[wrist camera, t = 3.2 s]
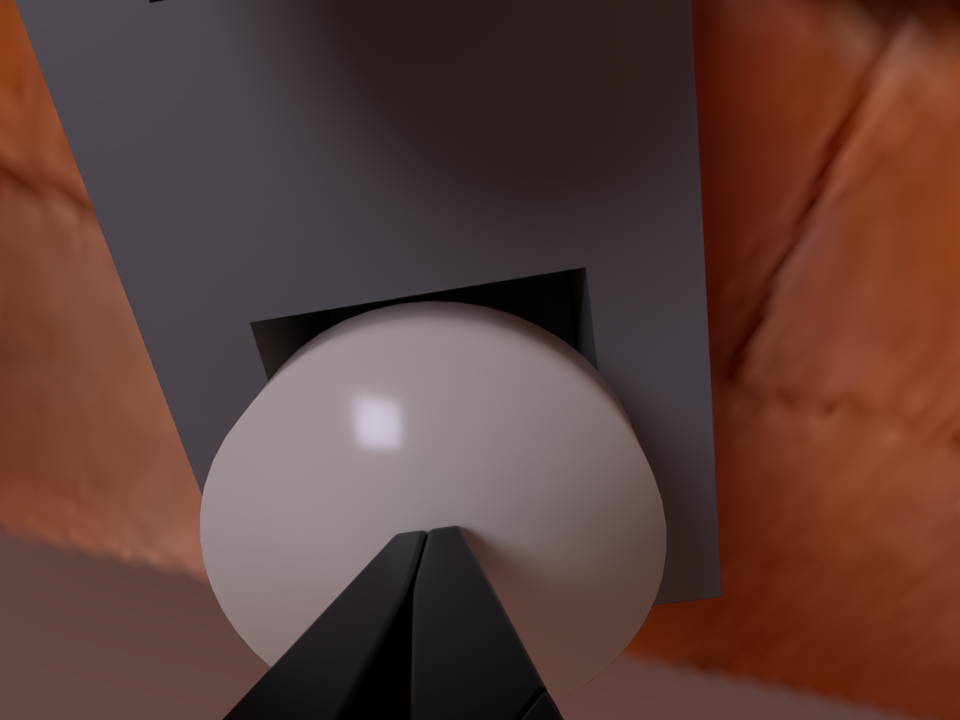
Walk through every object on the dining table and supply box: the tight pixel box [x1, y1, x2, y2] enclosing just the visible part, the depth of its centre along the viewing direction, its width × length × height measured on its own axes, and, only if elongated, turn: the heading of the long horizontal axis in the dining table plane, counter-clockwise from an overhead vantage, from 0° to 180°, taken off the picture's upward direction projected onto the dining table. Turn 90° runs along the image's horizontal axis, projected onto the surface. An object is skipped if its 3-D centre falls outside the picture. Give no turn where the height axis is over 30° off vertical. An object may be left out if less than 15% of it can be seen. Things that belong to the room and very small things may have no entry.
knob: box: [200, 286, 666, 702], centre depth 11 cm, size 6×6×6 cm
